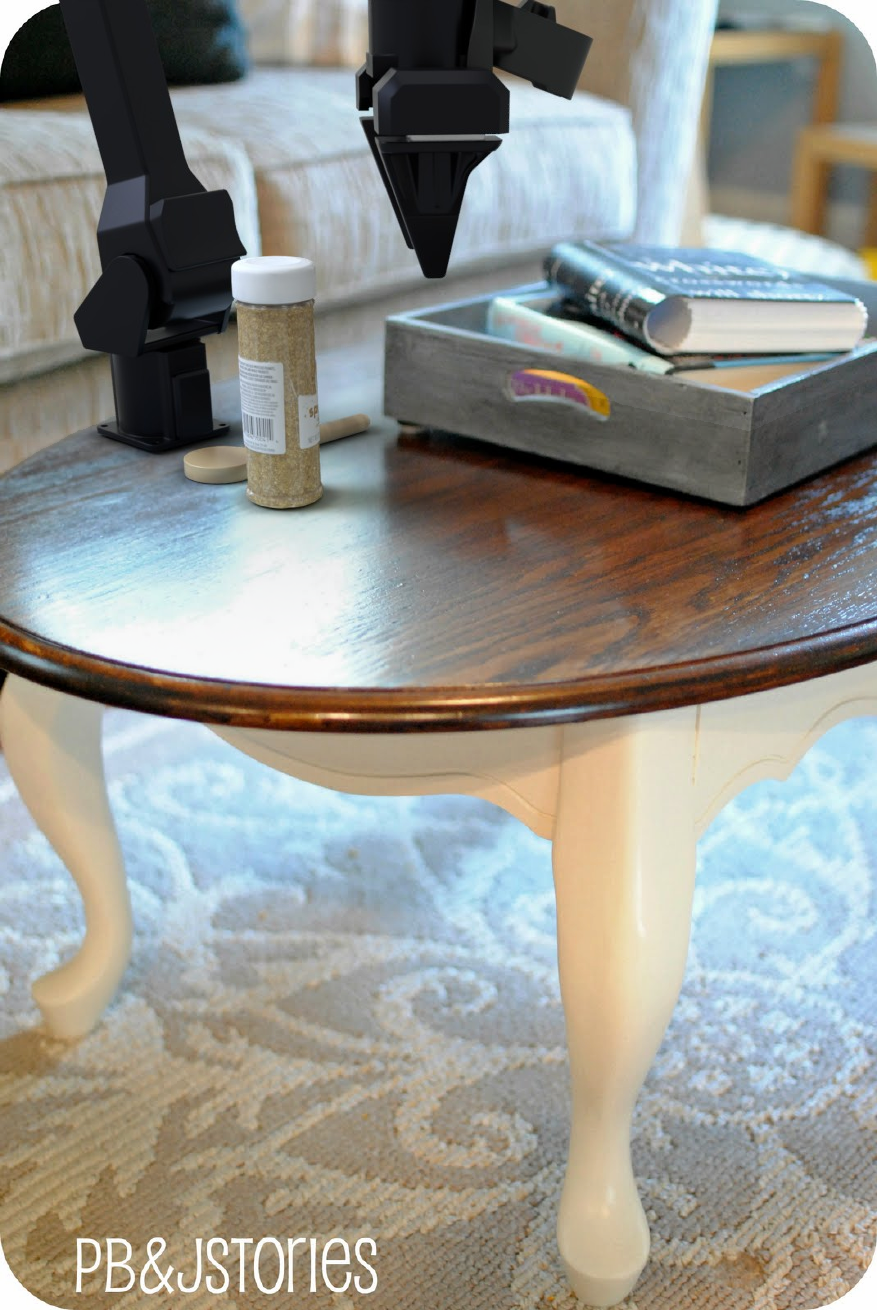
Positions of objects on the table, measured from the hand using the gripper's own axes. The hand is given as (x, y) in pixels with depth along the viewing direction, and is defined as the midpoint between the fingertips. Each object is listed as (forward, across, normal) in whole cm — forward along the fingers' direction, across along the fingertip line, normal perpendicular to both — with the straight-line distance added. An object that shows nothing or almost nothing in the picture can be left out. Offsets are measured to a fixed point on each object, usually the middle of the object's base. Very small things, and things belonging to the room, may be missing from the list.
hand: (425, 262), depth 75 cm
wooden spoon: (+13, +8, +8) cm, 17 cm away
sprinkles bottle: (+13, 0, +8) cm, 16 cm away
